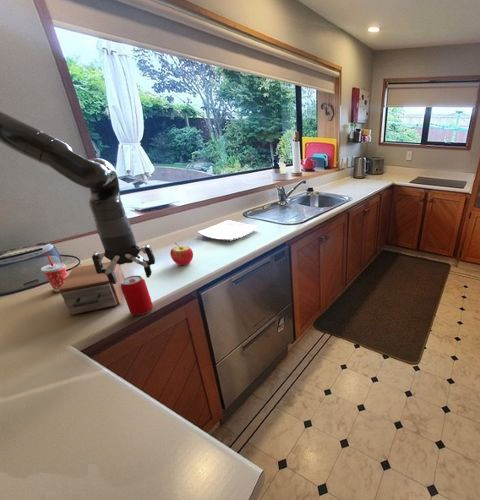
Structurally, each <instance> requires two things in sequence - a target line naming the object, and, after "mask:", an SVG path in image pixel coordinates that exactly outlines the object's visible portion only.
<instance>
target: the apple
mask: <svg viewBox="0 0 480 500" xmlns="http://www.w3.org/2000/svg"><path fill="white" fill-rule="evenodd" d="M174 245H176V246H175V247H172V248H171V249H170V252H169V254H170V258H171V260H172V261H173V262H174V263H175V264H176V265H179V266H185V265H188V264H190V263H191V262H192V260H193V259H194V251H193V250H192V248H191V247H189V246H186V245H178V243H176V242H174Z"/></svg>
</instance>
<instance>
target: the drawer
mask: <svg viewBox="0 0 480 500" xmlns="http://www.w3.org/2000/svg"><path fill="white" fill-rule="evenodd" d="M62 295H63V297H62V299H63V298H64V299H63V301H64V300H65V301H64V303H65V302H66V303H65V305H66V304H67V305H66V307H67V306H68V307H67V309H68V308H69V309H68V311H69V310H70V312H71V314H74V315H77V314H76V313H78V314H81V313H80V312H83V313H86V312H85V311H88V312H91V311H90V310H92V311H95V310H94V309H97V310H100V309H99V308H102V309H105V308H104V307H106V308H109V307H108V306H111V307H114V306H113V305H116V306H118V305H117V301H116V299H115V296H114V293H113V291H112V288H111V285H110V283H106V284H100V285H95V286H89V287H84V288H78V289H73V290H68V291H65V292H63V293H62ZM62 295H61V296H62ZM70 312H69V313H70ZM71 314H70V315H71Z"/></svg>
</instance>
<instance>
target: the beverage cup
mask: <svg viewBox="0 0 480 500" xmlns="http://www.w3.org/2000/svg"><path fill="white" fill-rule="evenodd" d="M45 255H46V257H47V258H48V262H49V264H46V265H43V266H42V267H41V268H40V271H41V273H43V274H44V276H45V278H46V279H47V281H48V283H49V285H50V287H51V288H52V290H53V291H54V292H58V293H59V292H60V290H59V289H60V288H61V286H62V285H63V283H64V282H65V280H66V278H67V277H68V275H69V273H68V271H67V269H66V264H65V263H64V262H53V261H52V259H51V257H50V255H49V253H45Z"/></svg>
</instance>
